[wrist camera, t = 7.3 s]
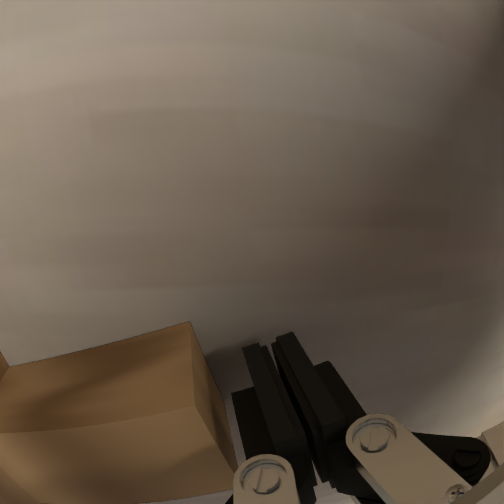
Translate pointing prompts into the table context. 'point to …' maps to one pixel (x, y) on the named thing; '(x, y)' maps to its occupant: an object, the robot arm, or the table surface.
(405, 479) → the robot arm
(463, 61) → the table surface
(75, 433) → the t block
